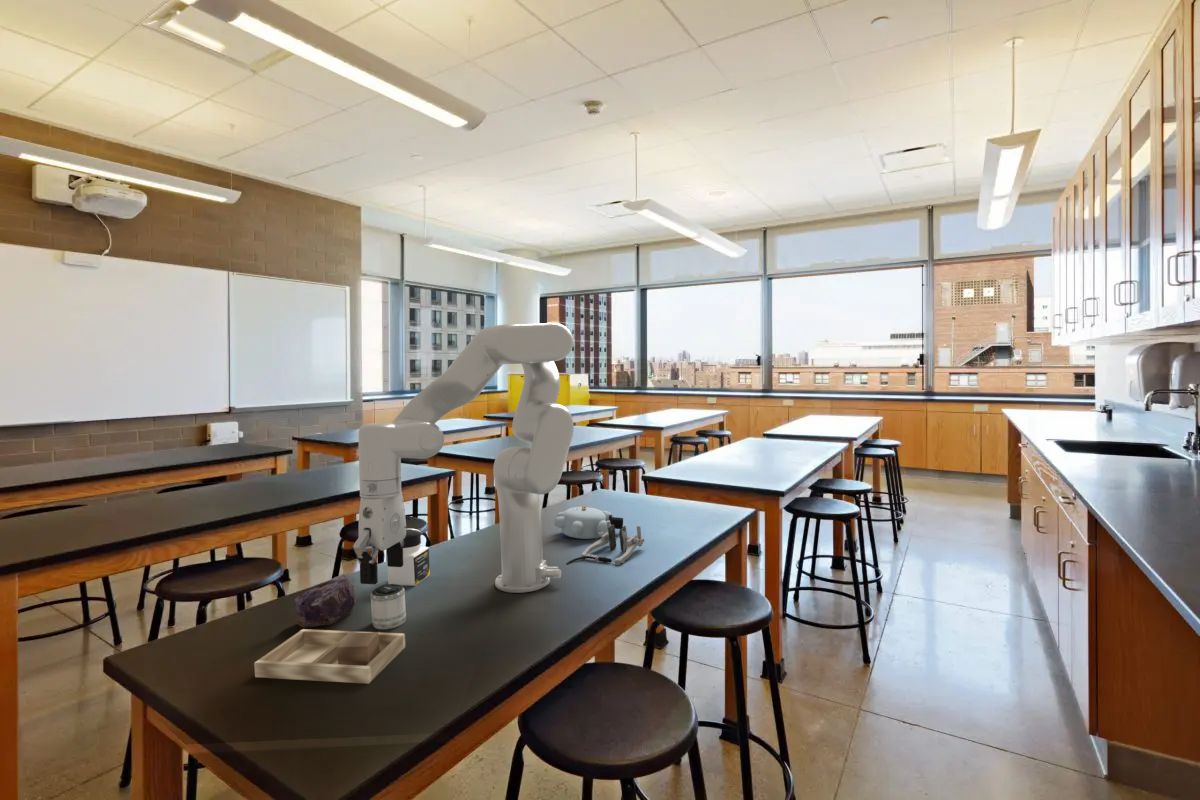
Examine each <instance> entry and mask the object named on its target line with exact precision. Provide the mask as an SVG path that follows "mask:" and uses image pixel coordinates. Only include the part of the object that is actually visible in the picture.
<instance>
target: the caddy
mask: <svg viewBox="0 0 1200 800" xmlns="http://www.w3.org/2000/svg"><path fill="white" fill-rule="evenodd" d="M369 632H370V631H358V630H357V631H354V630H353V631H352V630H350V631H349V630H330V629H329V630H328V629H326V630H325V629H310V628H309V629H307V628H306V629H305V628H303V629H300V630H299V631H298V632H296V633H295V634H293V635H292V636H290V637H289V638H288V639H286V640H285V641H283V642H282V643H281V644H279V645H278V646H276V647H275V648H273V649H272V650H271V651H269V652H268V653H266V654H265V655H263V656H262V657H260V658H258V660H256V661H254V663H253V665H254V677H255V678H258V679H260V678H263V679H277V680H278V679H279V680H295V681H296V680H298V681H313V682H315V681H316V682H331V683H334V682H335V683H349V684H350V683H351V684H366V685H369V684H370V683H372V681H373V680H375V678H376V677H377V676H378V675H379V674H380V673H382V671H383V670H384V669H385V668H386V667H387V666H388V665H389V664H390V663H391V662H392V661H393V660H394V659H396V657H397V656H398V655H399V654H400V653H401V652H402V651H403V650H404V649H405V648H406V633H403V632H401V633H400V632H381V631H377V632H378V633H379V651H380V653H379V654H378V655H377V656H376V657H375V658H374V659H373V660H372V661H371V662H370V663H368V664H367V665H366V666H358V665H339V664H338V656H337V647H338V646H339V644H340V643H341V642H342V641H343V640H344V639H345V638H346V637H347V635H348V634H349V633H369Z"/></svg>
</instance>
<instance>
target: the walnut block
mask: <svg viewBox="0 0 1200 800" xmlns="http://www.w3.org/2000/svg"><path fill="white" fill-rule="evenodd" d="M368 632H369V633H349V634H348V635H347V637H346V638H345V639H344V640H343V641H342V642H341V643H340V644H339V646H338V647H337V656H338V664H339V665H358V666H366V665H367V664H368V663H370V662H371V661H372V660H373V659H374V658H375V657H376V656H377V655H378V654H379V653H380V651H379V633H378V632H379V631H377V632H376V631H368Z"/></svg>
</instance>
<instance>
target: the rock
mask: <svg viewBox="0 0 1200 800" xmlns="http://www.w3.org/2000/svg"><path fill="white" fill-rule="evenodd" d="M356 600H357V599H356V596H355V589H354V585H353V583H352V581H351V579H350V576H349V575H348V573H347V572H344V573H343V574H340V575H338V576H335V577H333V578H331V579H328V580H327V581H326V580H324V581H322V582H320V583H318V584H317V585H315V586H314V587H312V588H310V589H309V590H305V591H304V593H302V594H300V595H299V596H297V597H296V598H295V599H294V608H295V609H294V611H295V615H296V617H295V621H296V623H297V625H298V627H301V628H303V629H305V628H314V627H319V626H329V625H333V624H335V623H337V622H339V621H341V620H342V619H344V618H346V617H348V616H350V615H351V614H353V612H354V606H355V605H356V602H357V601H356Z"/></svg>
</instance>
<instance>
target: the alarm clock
mask: <svg viewBox="0 0 1200 800" xmlns="http://www.w3.org/2000/svg"><path fill="white" fill-rule="evenodd" d="M607 520H610V525H612V524H614V527H615V530H620V529H621V528H622V527H624V518H623V517H616V516H615V517H614V516H613V514H612V513H611V512H610V511H608V510H600V509H598V508H595V507H587V505H582V506H574V507H569V508H568V509H566V510H565V511H560V512H558V513H557V514H556V516H555V518H554V523H553V524H554V526H555V527H556V528H559V529H561V537H563V538H569V537H570V538H574V539H575V538H576V539H582V540H592V539H593V540H595V539H601V537H600V536H598V533H602V532H604V533H606V532H607V522H606V521H607Z"/></svg>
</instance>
